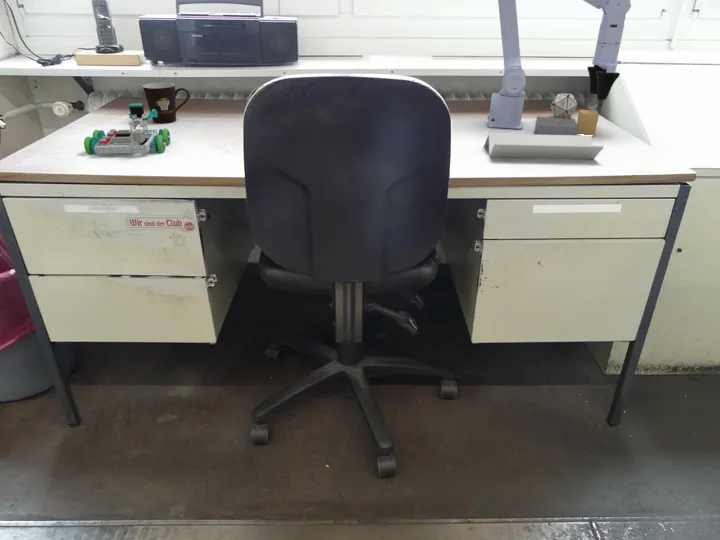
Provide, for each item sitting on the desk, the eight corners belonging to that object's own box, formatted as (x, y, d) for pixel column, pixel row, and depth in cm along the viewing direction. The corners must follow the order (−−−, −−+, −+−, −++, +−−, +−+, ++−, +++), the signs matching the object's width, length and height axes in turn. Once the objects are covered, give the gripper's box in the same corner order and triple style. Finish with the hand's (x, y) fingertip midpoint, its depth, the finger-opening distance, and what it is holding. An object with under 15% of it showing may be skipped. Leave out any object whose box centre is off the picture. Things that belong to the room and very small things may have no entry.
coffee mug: (145, 124, 152) (138, 88, 147) (154, 117, 159) (148, 82, 154) (186, 124, 152) (180, 88, 147) (193, 117, 160) (188, 82, 155)
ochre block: (576, 135, 147) (581, 113, 144) (575, 131, 151) (579, 109, 148) (594, 136, 146) (599, 114, 143) (591, 132, 150) (596, 110, 147)
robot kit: (181, 131, 148) (175, 96, 143) (162, 158, 126) (155, 119, 121) (111, 132, 146) (103, 97, 141) (80, 160, 124) (70, 120, 119)
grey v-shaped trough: (484, 168, 135) (483, 145, 137) (583, 170, 134) (582, 148, 136) (494, 144, 124) (494, 120, 125) (603, 147, 123) (601, 123, 124)
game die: (561, 129, 166) (581, 102, 165) (569, 126, 158) (591, 97, 156) (538, 113, 166) (558, 85, 164) (545, 109, 158) (566, 80, 156)
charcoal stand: (535, 140, 142) (538, 125, 140) (534, 130, 150) (536, 116, 148) (575, 143, 140) (578, 128, 138) (571, 133, 148) (574, 119, 146)
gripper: (633, 46, 133) (621, 102, 139) (616, 39, 145) (606, 91, 152) (603, 46, 133) (592, 101, 140) (589, 39, 146) (580, 91, 153)
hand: (597, 96), depth 146 cm, fingers open, 7 cm apart
